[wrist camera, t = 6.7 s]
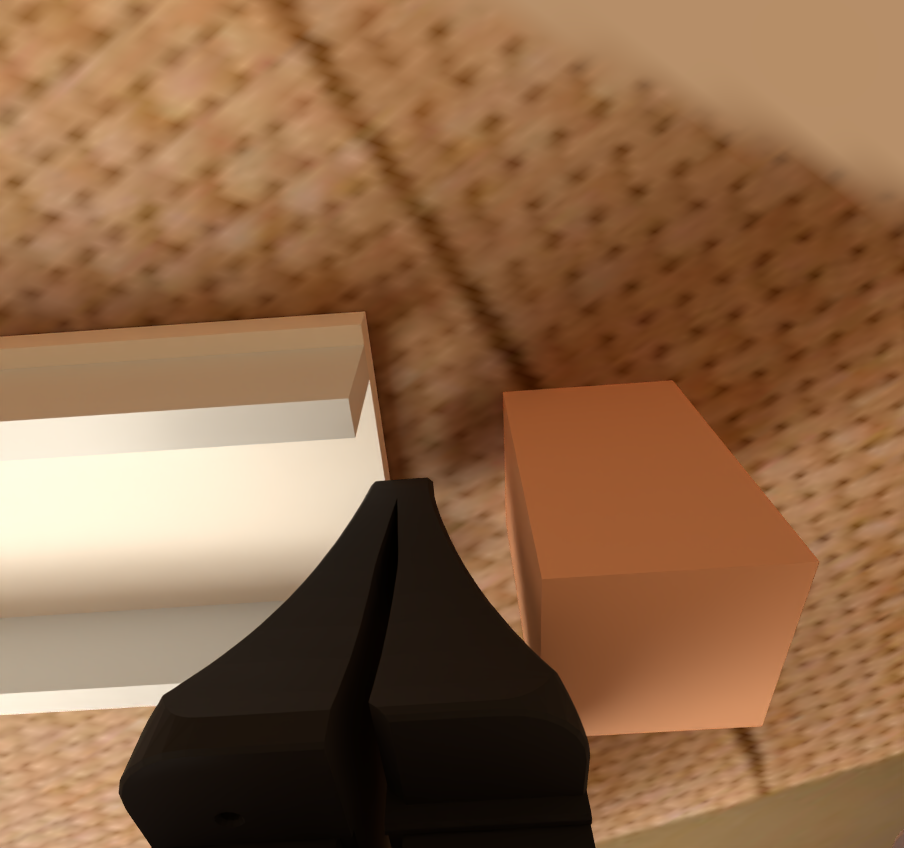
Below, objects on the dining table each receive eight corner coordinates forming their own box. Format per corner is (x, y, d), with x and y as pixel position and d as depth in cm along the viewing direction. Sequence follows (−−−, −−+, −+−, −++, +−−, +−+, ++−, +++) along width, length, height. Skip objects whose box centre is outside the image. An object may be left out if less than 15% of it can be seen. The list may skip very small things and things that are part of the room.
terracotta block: (505, 522, 15) (653, 512, 15) (539, 738, 10) (761, 726, 10) (502, 391, 13) (672, 379, 13) (541, 578, 8) (819, 561, 8)
